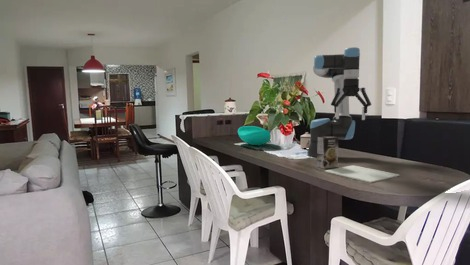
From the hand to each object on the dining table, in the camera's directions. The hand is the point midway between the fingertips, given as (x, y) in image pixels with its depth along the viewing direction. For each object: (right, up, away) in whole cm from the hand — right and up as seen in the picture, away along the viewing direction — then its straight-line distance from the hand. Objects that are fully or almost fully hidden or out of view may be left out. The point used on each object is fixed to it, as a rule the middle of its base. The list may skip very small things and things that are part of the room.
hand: (350, 119), depth 173 cm
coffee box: (-11, -26, +3) cm, 28 cm away
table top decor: (-43, -17, +84) cm, 96 cm away
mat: (0, -27, -13) cm, 30 cm away
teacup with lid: (-8, -19, +65) cm, 68 cm away
